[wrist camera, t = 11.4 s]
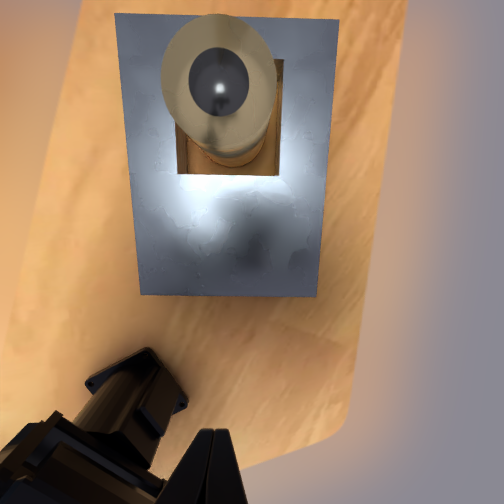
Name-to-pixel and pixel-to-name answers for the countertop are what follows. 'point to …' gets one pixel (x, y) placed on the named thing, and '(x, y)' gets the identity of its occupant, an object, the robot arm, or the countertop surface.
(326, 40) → the jig
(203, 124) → the bushing
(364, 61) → the countertop surface
